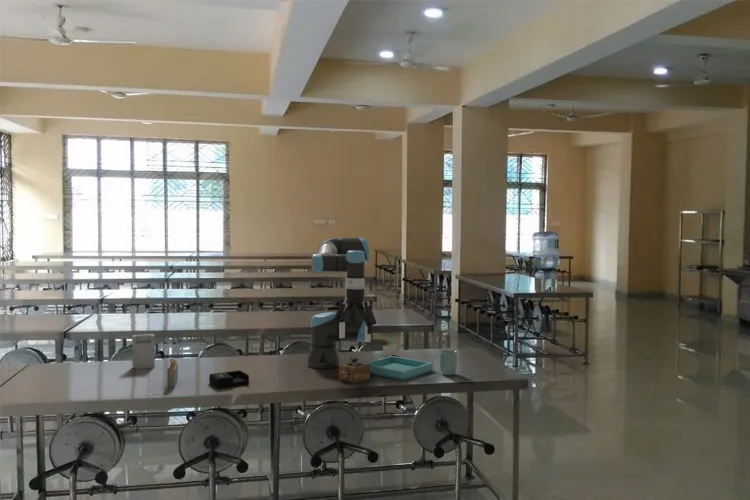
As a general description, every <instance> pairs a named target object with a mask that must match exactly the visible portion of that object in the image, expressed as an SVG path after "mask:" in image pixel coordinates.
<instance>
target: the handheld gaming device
mask: <svg viewBox="0 0 750 500" xmlns="http://www.w3.org/2000/svg"><path fill="white" fill-rule="evenodd" d="M131 336H132V338H131V340H132V341H131V342H132V344H131V345H132V367H133V369H135V370H136V369H137V370H138V369H152V368H156V365H155V363H156V362H155V359H156V357H155V355H156V354H155V333H145V334H132V335H131Z"/></svg>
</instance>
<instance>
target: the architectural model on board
mask: <svg viewBox="0 0 750 500" xmlns="http://www.w3.org/2000/svg"><path fill="white" fill-rule="evenodd" d="M168 360H169V366H168V368H167V369H166V371H167V372H166V374H167V376H166V379H167V380H166V381H167V382H166V384H167V385H166V389H167V390H170V389H171V390H172V389H175V387H176V385H177V383H178V381H179V374H178V373H179V362H178V360H175V359H174V358H171V357H170V358H169V359H168ZM152 393H153V392H152ZM152 393H150V392H149V393H145V394H144V395H146V396H148V395H151V396H152ZM160 393H161V394H160V395H163V394H162V393H163V392H160ZM167 393H168V394H167V395H175V394H176V395H177V394H181V392H167ZM147 394H148V395H147Z"/></svg>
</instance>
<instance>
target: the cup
mask: <svg viewBox="0 0 750 500" xmlns="http://www.w3.org/2000/svg"><path fill="white" fill-rule="evenodd" d="M458 365H459V352H458V350H456V349H455V350H454V349H442V350H439V369H440V373H441V374H442V375H444V376H451V377H452V376H454V375H456V374H457V372H458Z"/></svg>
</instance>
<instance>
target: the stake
mask: <svg viewBox="0 0 750 500" xmlns="http://www.w3.org/2000/svg"><path fill="white" fill-rule="evenodd" d="M359 358H360V357H359V356H350V358H349V359H350V361H351V362H352V364H351V366H355V367H356V366H357V362H358V361H359Z"/></svg>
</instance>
